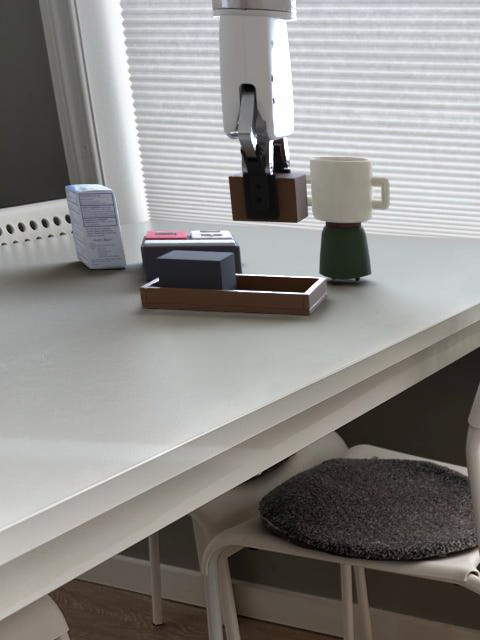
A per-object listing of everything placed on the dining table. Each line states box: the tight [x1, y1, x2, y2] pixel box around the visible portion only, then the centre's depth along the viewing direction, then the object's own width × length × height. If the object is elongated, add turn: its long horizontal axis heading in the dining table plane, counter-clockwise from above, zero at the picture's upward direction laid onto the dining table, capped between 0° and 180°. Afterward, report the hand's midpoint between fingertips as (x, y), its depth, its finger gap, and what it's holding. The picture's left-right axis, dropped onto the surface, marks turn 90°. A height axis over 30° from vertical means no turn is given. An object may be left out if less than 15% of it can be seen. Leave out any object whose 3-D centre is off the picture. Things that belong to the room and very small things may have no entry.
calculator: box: [140, 229, 243, 281], centre depth 115 cm, size 11×4×15 cm
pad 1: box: [156, 250, 237, 290], centre depth 99 cm, size 6×6×4 cm
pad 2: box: [228, 171, 309, 224], centre depth 95 cm, size 6×6×4 cm
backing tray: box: [138, 273, 328, 316], centre depth 100 cm, size 17×10×2 cm, turn 88°
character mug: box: [306, 156, 391, 282], centre depth 110 cm, size 11×7×13 cm, turn 85°
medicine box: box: [64, 183, 127, 270], centre depth 115 cm, size 8×4×9 cm, turn 30°
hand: (270, 213), depth 96 cm, fingers closed on pad 2, 5 cm apart
